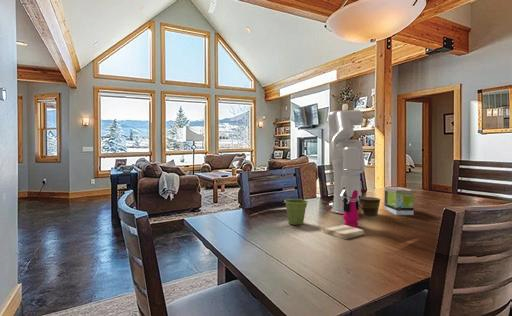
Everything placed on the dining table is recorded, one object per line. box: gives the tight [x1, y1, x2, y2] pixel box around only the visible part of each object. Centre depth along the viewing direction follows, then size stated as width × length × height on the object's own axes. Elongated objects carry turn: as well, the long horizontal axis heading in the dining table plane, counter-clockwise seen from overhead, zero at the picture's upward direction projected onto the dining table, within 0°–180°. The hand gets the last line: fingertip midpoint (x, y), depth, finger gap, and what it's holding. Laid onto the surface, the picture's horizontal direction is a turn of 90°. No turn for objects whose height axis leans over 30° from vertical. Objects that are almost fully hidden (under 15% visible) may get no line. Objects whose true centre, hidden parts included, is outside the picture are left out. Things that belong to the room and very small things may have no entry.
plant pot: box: [284, 198, 309, 226], centre depth 141 cm, size 12×12×11 cm
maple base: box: [322, 223, 365, 240], centre depth 123 cm, size 12×12×2 cm
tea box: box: [384, 186, 415, 216], centre depth 161 cm, size 15×10×15 cm
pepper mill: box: [342, 190, 360, 228], centre depth 135 cm, size 7×7×20 cm
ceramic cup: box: [359, 196, 381, 217], centre depth 155 cm, size 13×10×10 cm
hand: (351, 210), depth 135 cm, fingers open, 5 cm apart
